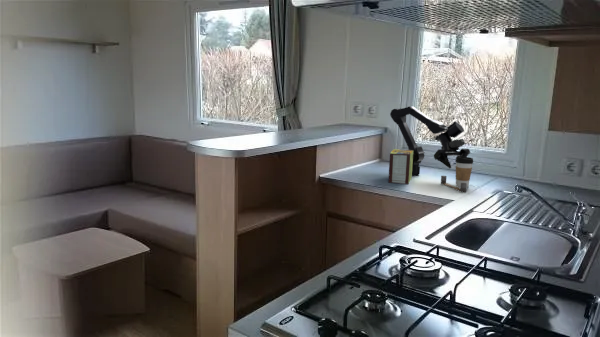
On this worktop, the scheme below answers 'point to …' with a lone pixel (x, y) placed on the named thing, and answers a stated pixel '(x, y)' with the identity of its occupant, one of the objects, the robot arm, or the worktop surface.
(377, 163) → the worktop surface
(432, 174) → the worktop surface
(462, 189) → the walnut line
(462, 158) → the coffee cup
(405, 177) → the protein box
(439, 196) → the worktop surface
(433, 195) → the worktop surface
